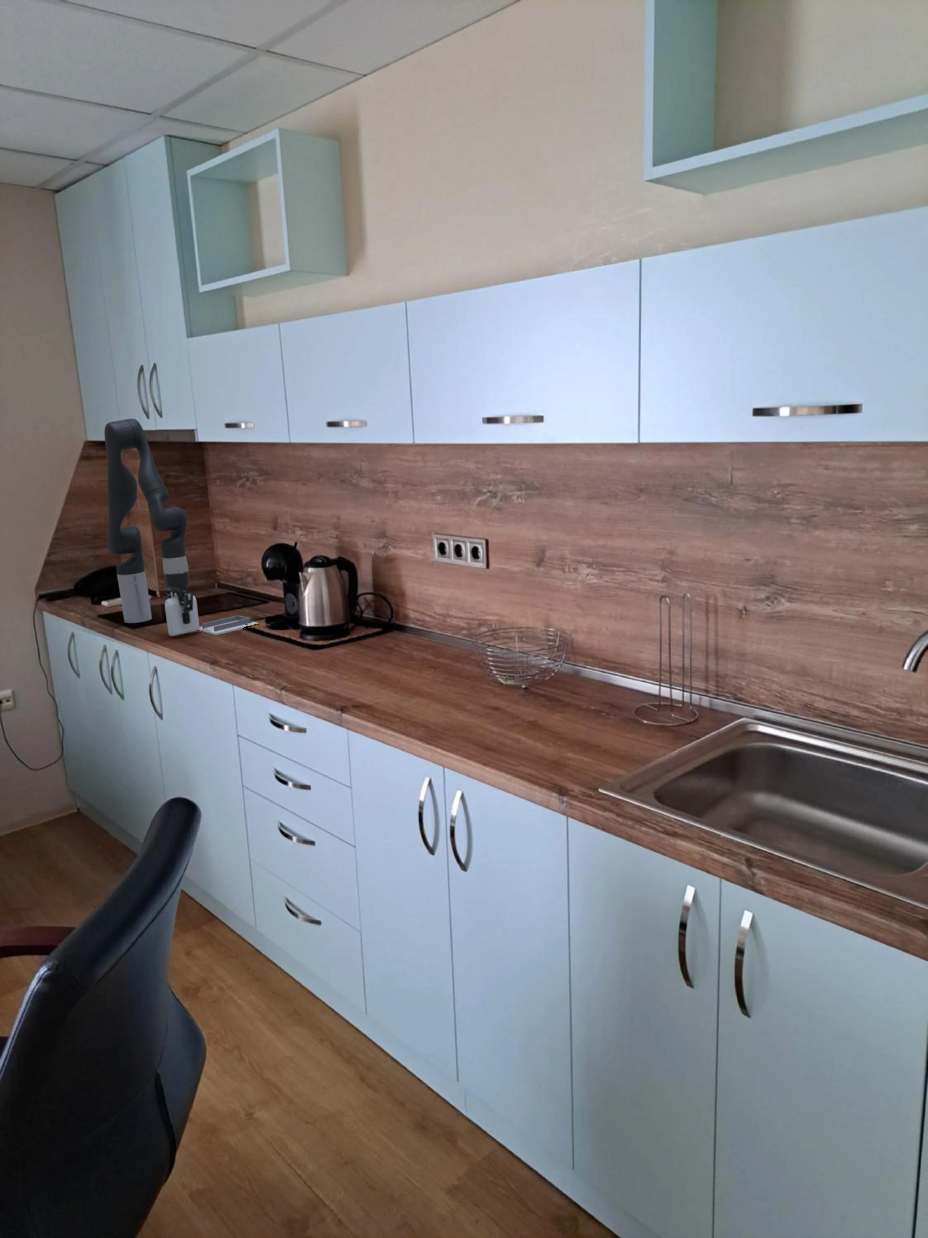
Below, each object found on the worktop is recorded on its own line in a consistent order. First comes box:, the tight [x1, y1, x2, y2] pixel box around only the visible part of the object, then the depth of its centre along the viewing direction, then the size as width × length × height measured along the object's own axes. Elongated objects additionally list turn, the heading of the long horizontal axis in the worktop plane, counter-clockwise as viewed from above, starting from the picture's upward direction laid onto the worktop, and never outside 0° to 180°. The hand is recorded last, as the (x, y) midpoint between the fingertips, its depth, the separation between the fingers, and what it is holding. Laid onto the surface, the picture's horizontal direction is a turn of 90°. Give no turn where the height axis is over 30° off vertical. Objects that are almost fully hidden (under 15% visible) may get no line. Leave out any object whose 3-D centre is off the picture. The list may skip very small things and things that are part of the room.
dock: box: [199, 615, 260, 636], centre depth 298 cm, size 14×16×2 cm
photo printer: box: [164, 595, 201, 637], centre depth 289 cm, size 10×4×12 cm, turn 134°
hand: (183, 622), depth 290 cm, fingers closed on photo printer, 4 cm apart
